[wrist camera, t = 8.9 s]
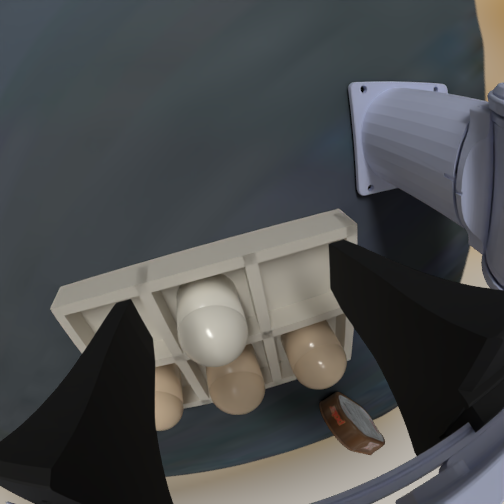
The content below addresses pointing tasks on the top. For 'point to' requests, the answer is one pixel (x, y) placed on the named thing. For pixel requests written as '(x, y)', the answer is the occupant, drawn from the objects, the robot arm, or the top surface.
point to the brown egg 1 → (168, 396)
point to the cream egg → (211, 321)
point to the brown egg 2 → (315, 355)
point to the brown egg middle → (237, 384)
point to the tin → (351, 424)
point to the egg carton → (248, 287)
